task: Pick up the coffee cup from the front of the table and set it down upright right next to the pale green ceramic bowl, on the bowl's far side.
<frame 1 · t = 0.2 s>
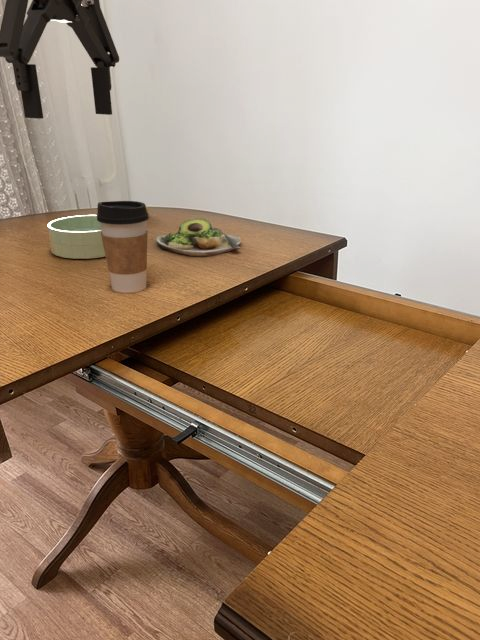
hand: (71, 116, 80), 28 cm above the table, tool pointing down, fingers open, 13 cm apart
decorated donut: (127, 219, 144), on the table
salad plate: (198, 246, 122), on the table
bowl: (89, 251, 117), on the table
coffee cup: (129, 289, 96), on the table
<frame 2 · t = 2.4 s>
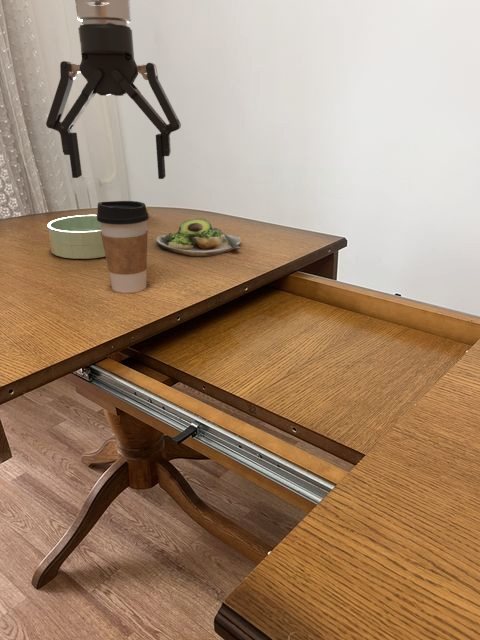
hand: (119, 177, 88), 19 cm above the table, tool pointing down, fingers open, 13 cm apart
nothing on the table moved.
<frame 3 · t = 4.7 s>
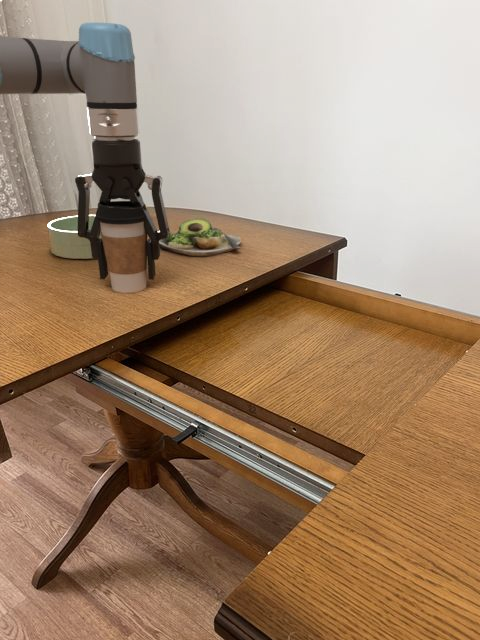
hand: (128, 276, 95), 2 cm above the table, tool pointing down, fingers closed on coffee cup, 8 cm apart
coffee cup: (129, 289, 96), on the table, touching gripper
everything else where it was.
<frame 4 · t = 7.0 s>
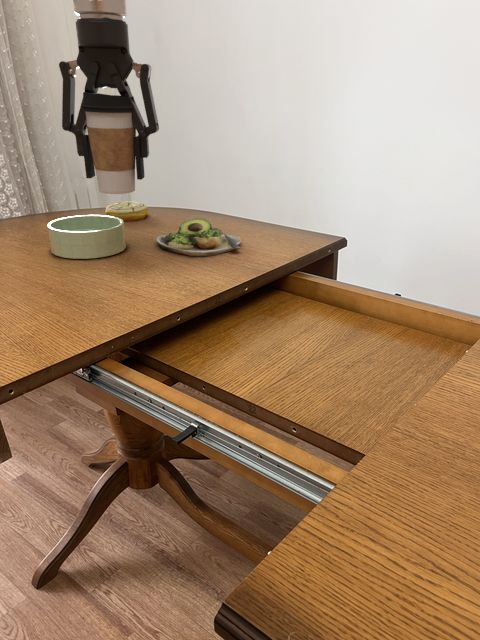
hand: (115, 177, 91), 18 cm above the table, tool pointing down, fingers closed on coffee cup, 8 cm apart
coffee cup: (117, 191, 92), point 16 cm above the table, touching gripper
everything else where it was.
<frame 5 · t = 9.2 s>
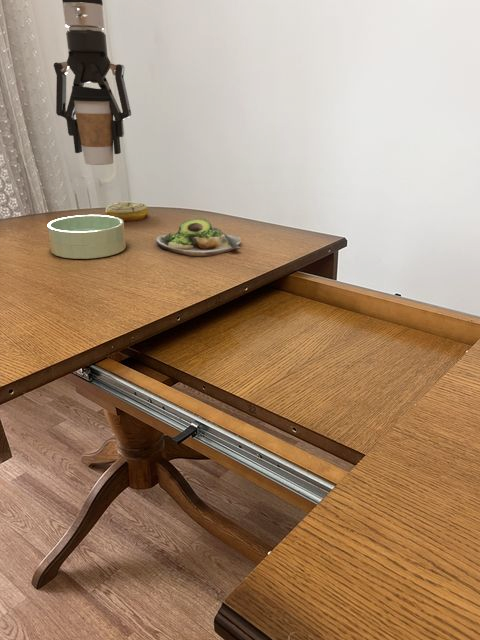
hand: (98, 152, 117), 19 cm above the table, tool pointing down, fingers closed on coffee cup, 8 cm apart
coffee cup: (99, 164, 118), point 17 cm above the table, touching gripper
everything else where it was.
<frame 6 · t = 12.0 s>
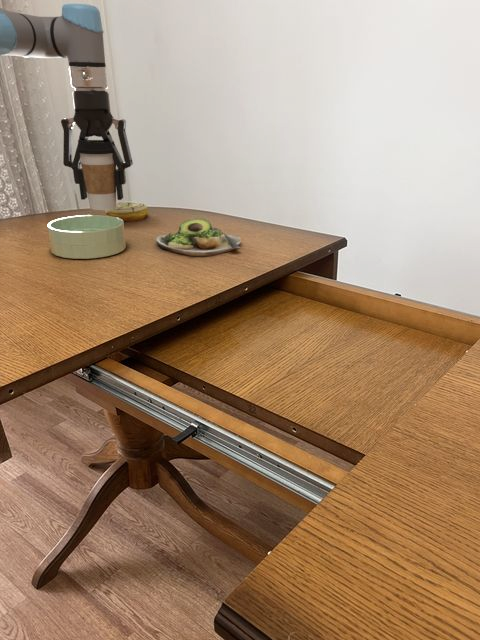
hand: (102, 198, 126), 8 cm above the table, tool pointing down, fingers closed on coffee cup, 8 cm apart
coffee cup: (103, 208, 127), point 6 cm above the table, touching gripper
everything else where it was.
when the fingers open (2 cm above the table, at t = 13.9 s): coffee cup stays where it is, on the table.
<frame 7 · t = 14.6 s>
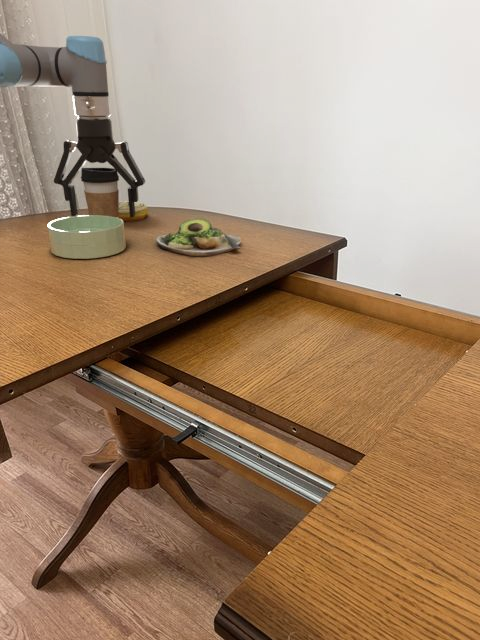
hand: (103, 215, 128), 4 cm above the table, tool pointing down, fingers open, 13 cm apart
coffee cup: (106, 234, 130), on the table
everything else where it was.
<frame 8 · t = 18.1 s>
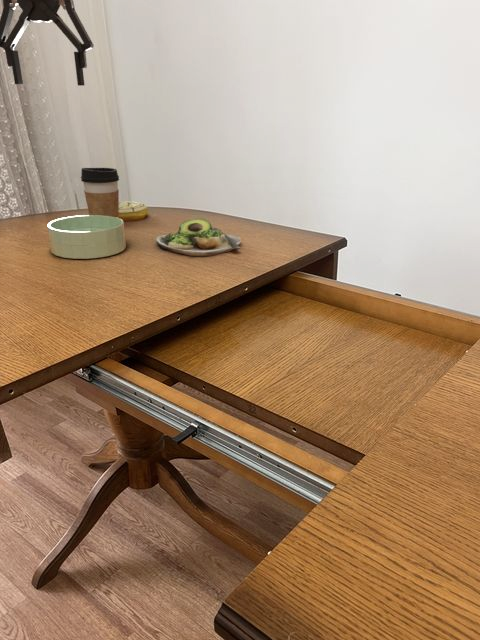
hand: (50, 85, 120), 32 cm above the table, tool pointing down, fingers open, 13 cm apart
nothing on the table moved.
at the end: coffee cup inside the target area on the table beside the bowl (0.2 cm from its centre), on the table; coffee cup 15.0 cm from the bowl (horizontally); coffee cup tilted 0° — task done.
